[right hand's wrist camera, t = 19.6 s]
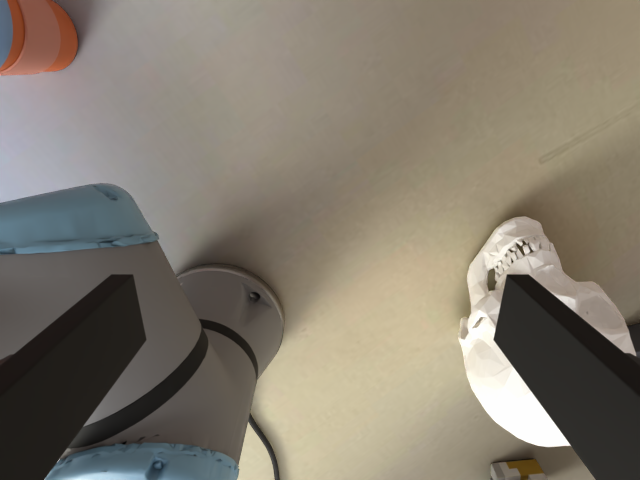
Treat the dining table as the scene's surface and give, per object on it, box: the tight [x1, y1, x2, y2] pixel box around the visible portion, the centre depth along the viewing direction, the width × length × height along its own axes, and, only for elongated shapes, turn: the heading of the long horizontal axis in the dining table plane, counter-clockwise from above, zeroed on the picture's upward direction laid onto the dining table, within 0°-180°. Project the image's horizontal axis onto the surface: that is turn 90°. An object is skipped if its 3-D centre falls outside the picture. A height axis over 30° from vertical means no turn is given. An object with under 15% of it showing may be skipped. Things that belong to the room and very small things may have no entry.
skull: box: [458, 216, 636, 447], centre depth 36 cm, size 13×22×16 cm, turn 10°
